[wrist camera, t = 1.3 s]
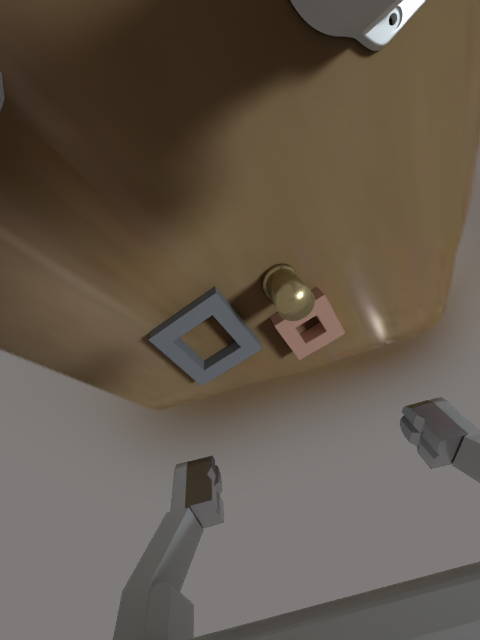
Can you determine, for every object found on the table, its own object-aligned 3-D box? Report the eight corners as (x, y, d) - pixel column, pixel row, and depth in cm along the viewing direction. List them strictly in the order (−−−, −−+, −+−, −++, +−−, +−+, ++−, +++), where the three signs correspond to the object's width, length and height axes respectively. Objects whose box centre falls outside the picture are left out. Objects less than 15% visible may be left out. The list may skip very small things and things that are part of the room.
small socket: (317, 286, 40) (324, 294, 37) (337, 324, 44) (345, 333, 42) (269, 316, 42) (274, 326, 39) (294, 349, 46) (299, 360, 43)
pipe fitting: (287, 255, 37) (306, 274, 30) (303, 285, 39) (324, 307, 33) (254, 278, 38) (265, 300, 31) (273, 304, 41) (287, 331, 34)
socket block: (215, 286, 38) (215, 292, 36) (259, 340, 44) (262, 349, 42) (151, 331, 40) (148, 339, 38) (201, 376, 46) (201, 386, 44)
